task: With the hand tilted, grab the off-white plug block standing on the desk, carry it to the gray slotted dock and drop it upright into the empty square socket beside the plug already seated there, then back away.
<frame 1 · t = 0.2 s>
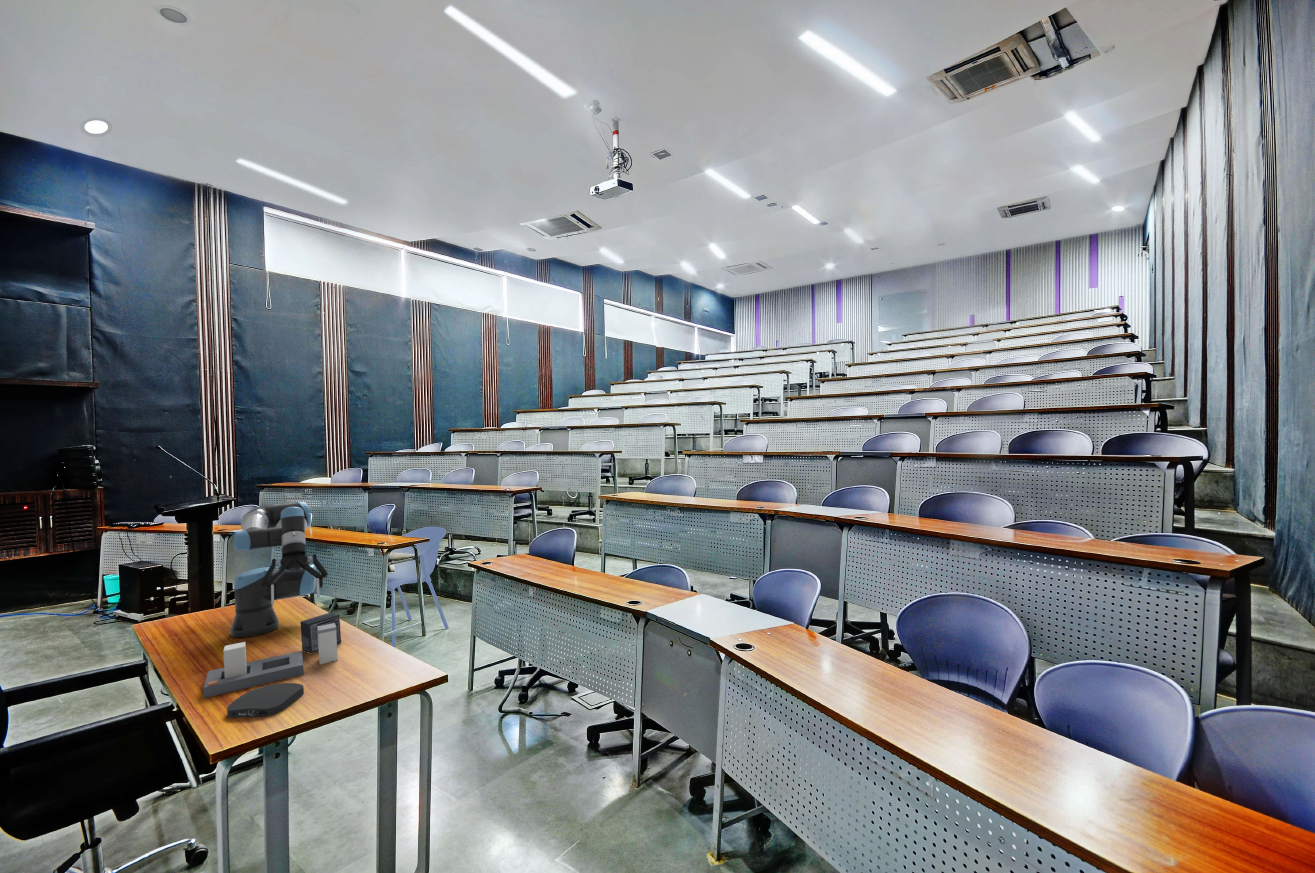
hand: (296, 599, 194), 16 cm above the table, tool tilted 35°, fingers open, 13 cm apart
gray slotted dock: (256, 677, 168), on the table
media streaming box: (267, 705, 151), on the table
white plug: (328, 659, 180), on the table
small box: (321, 647, 192), on the table
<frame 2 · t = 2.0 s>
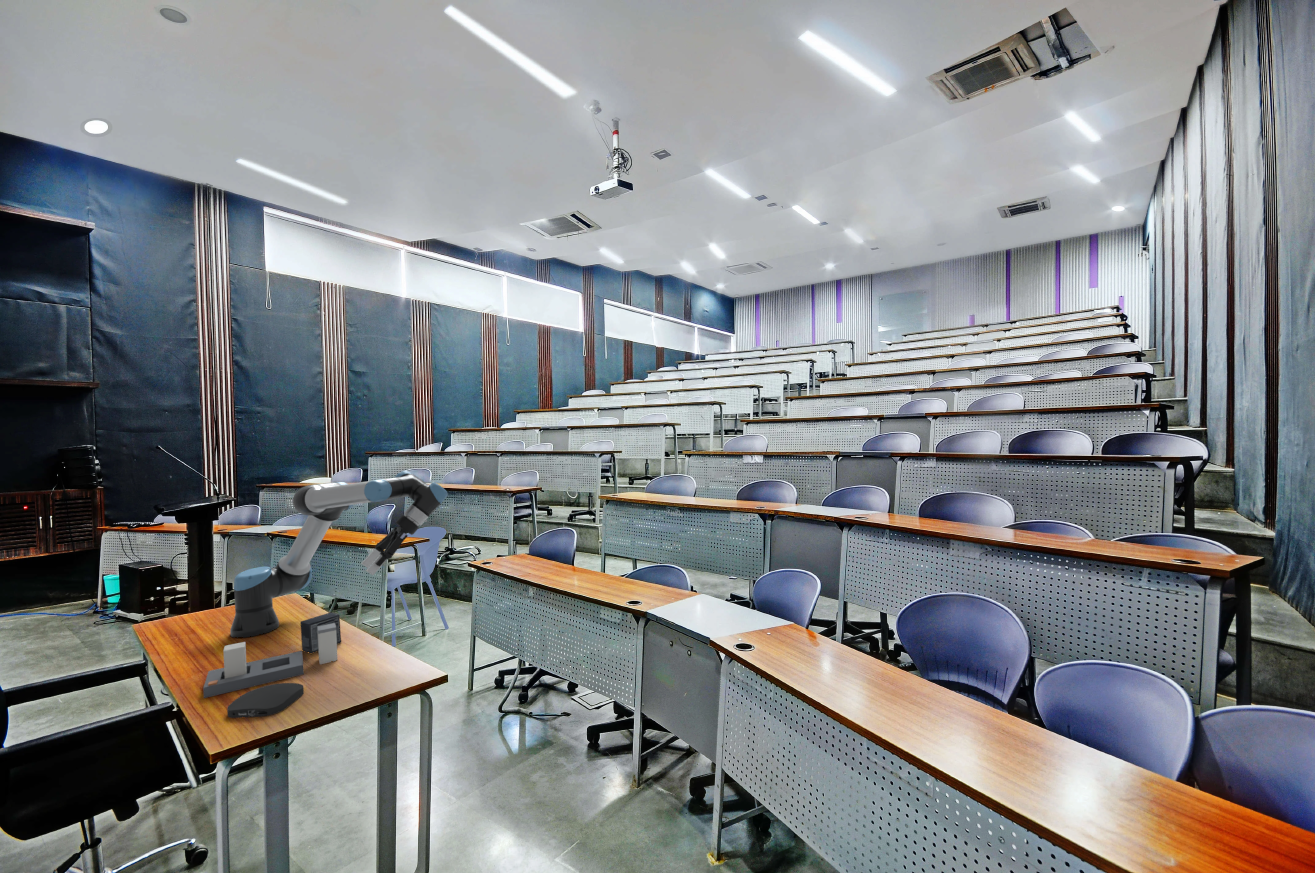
hand: (366, 569, 188), 27 cm above the table, tool tilted 45°, fingers open, 13 cm apart
nothing on the table moved.
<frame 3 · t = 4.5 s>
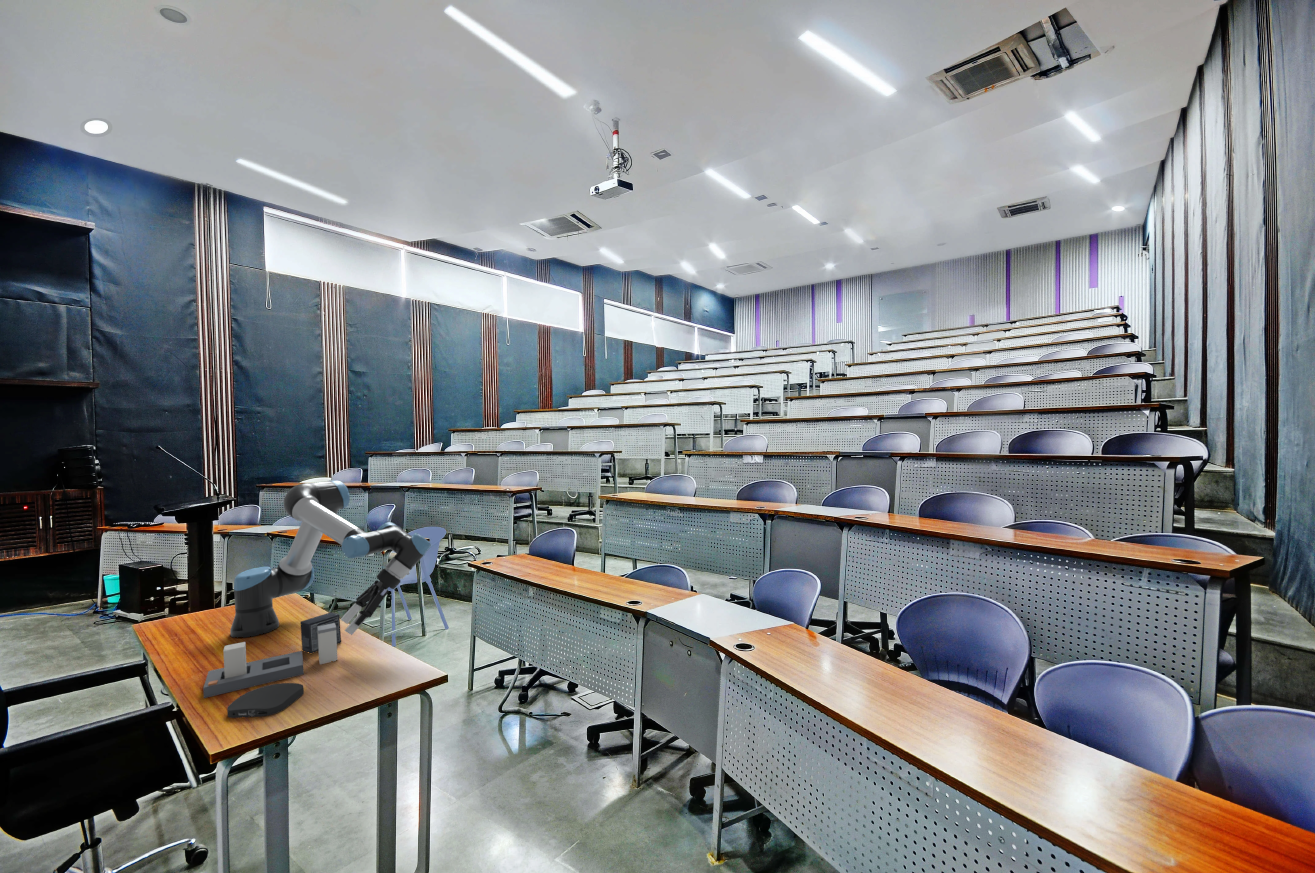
hand: (345, 627, 182), 10 cm above the table, tool tilted 45°, fingers open, 13 cm apart
nothing on the table moved.
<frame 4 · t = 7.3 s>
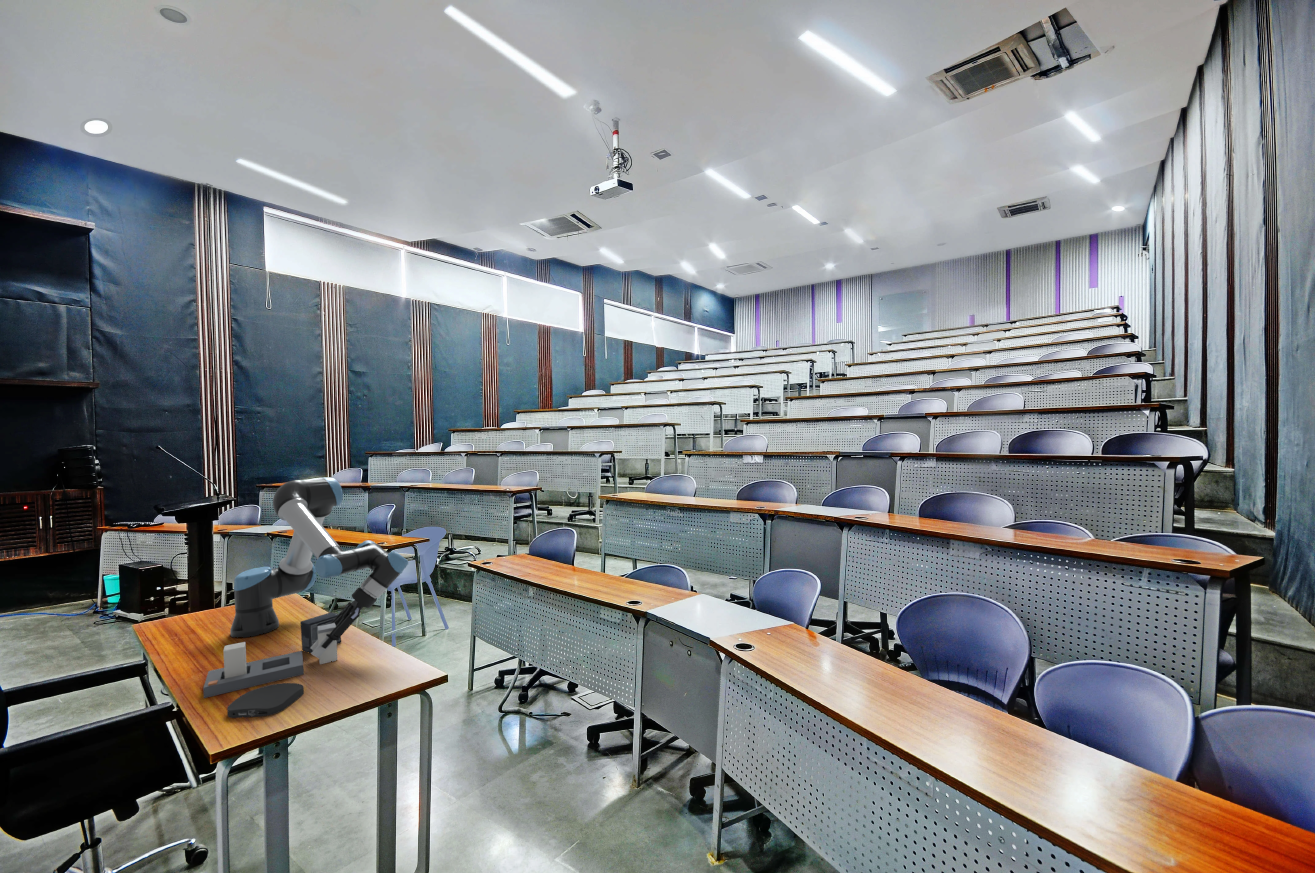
hand: (314, 652, 178), 3 cm above the table, tool tilted 45°, fingers closed on white plug, 5 cm apart
white plug: (328, 659, 180), on the table, touching gripper
everything else where it was.
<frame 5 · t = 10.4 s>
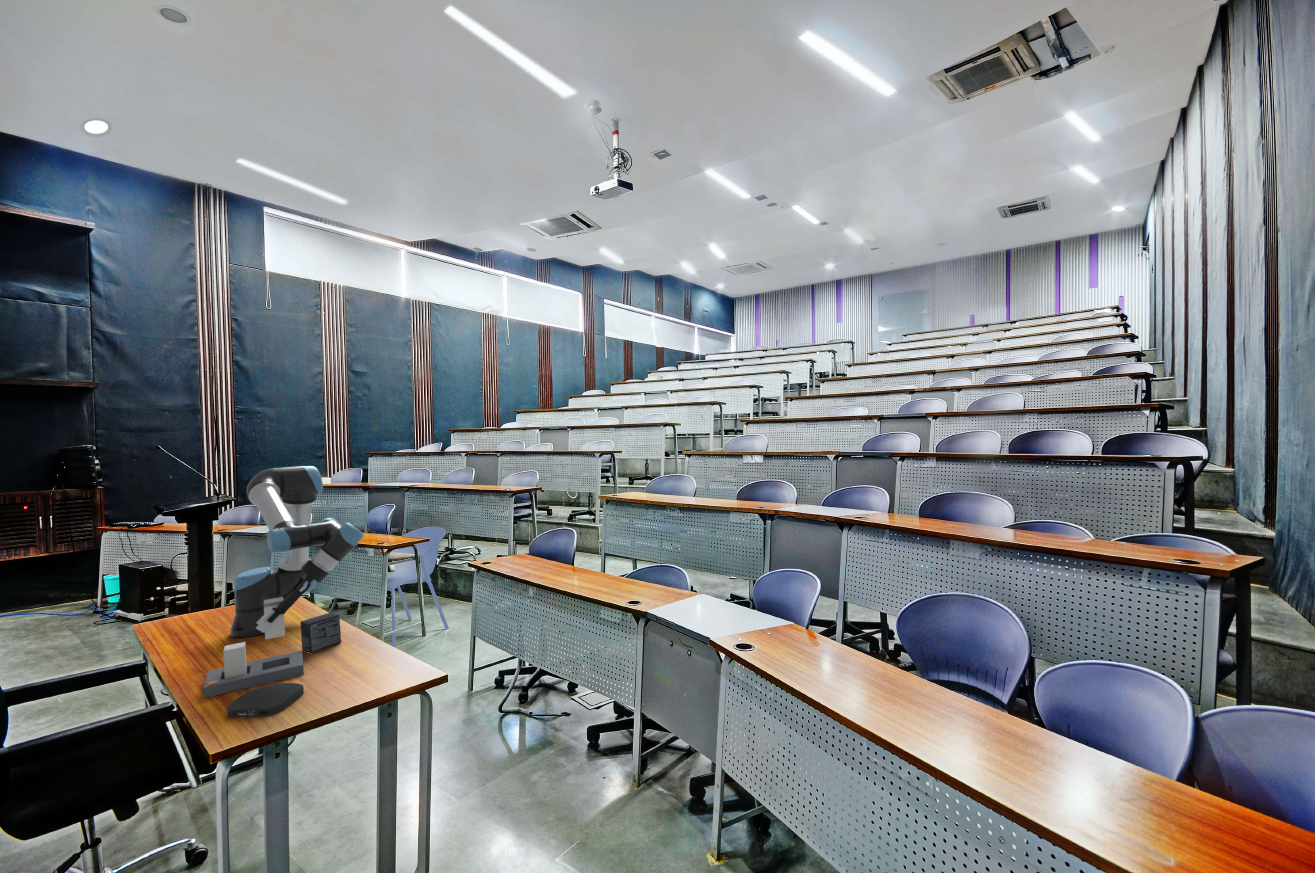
hand: (260, 627, 169), 15 cm above the table, tool tilted 45°, fingers closed on white plug, 5 cm apart
white plug: (275, 635, 171), point 12 cm above the table, touching gripper
everything else where it was.
when the fingers open (4 cm above the table, at t = 13.6 s): white plug stays where it is, resting in gray slotted dock.
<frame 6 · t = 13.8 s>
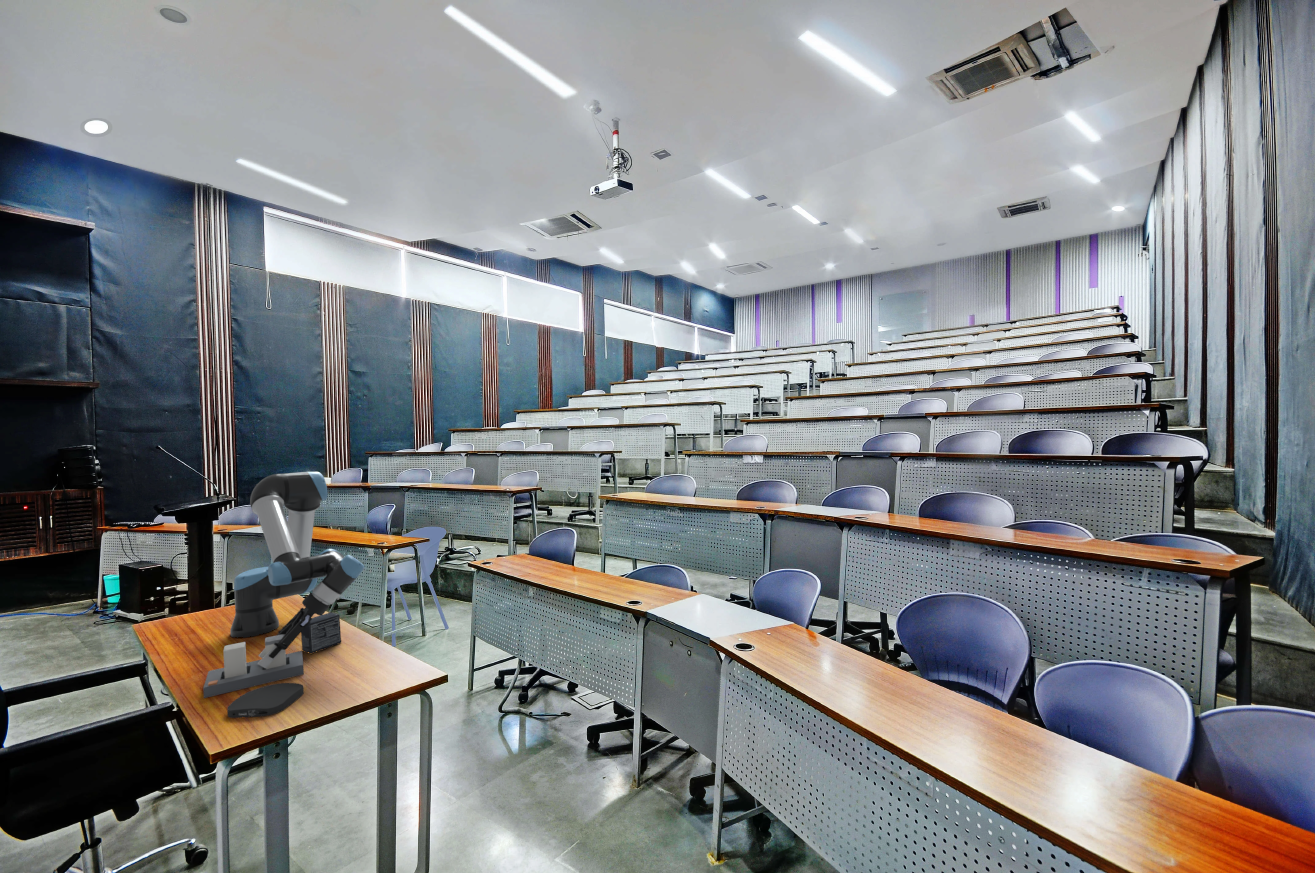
hand: (262, 661, 169), 4 cm above the table, tool tilted 45°, fingers open, 7 cm apart
white plug: (276, 672, 171), resting in gray slotted dock
everything else where it was.
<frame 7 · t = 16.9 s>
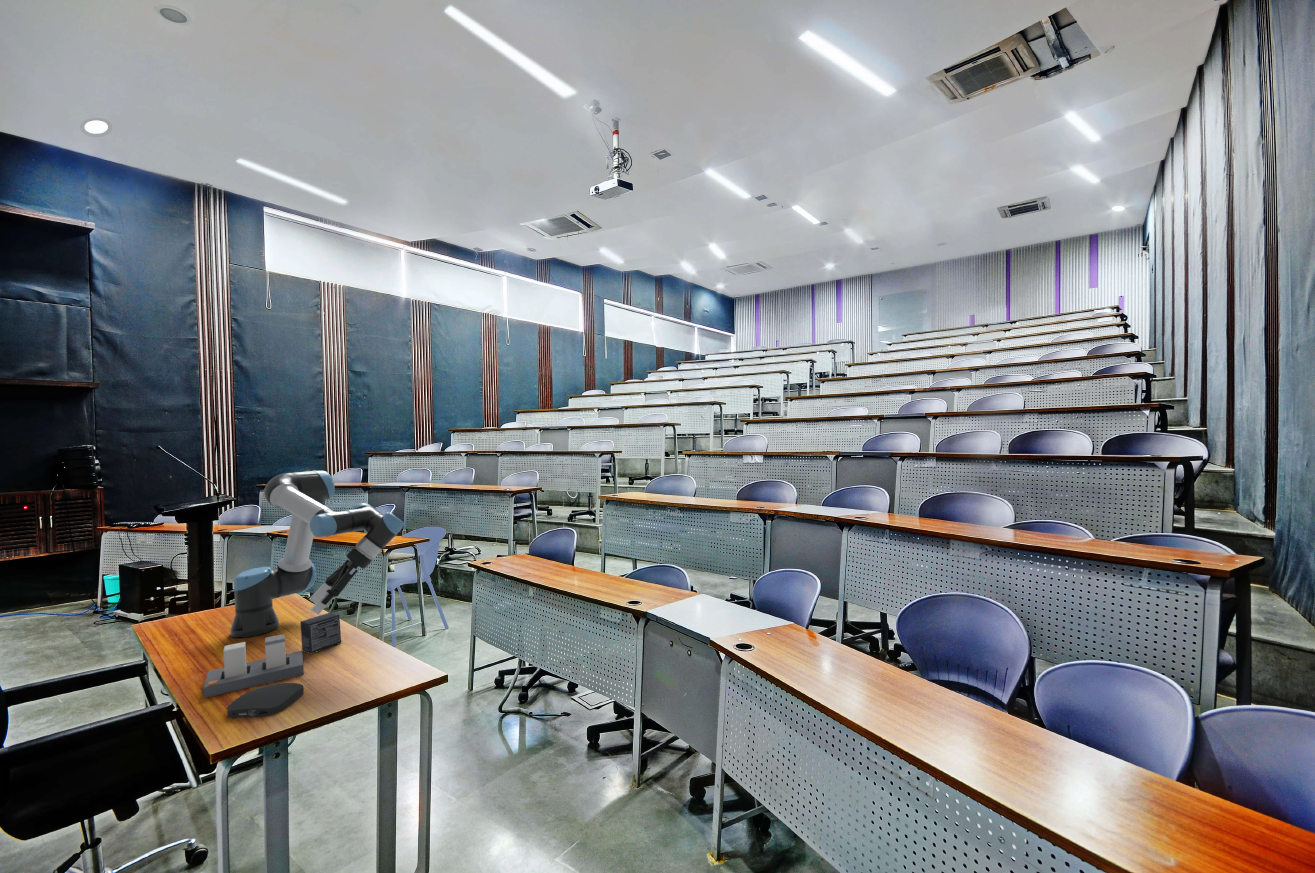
hand: (313, 606, 177), 19 cm above the table, tool tilted 45°, fingers open, 13 cm apart
nothing on the table moved.
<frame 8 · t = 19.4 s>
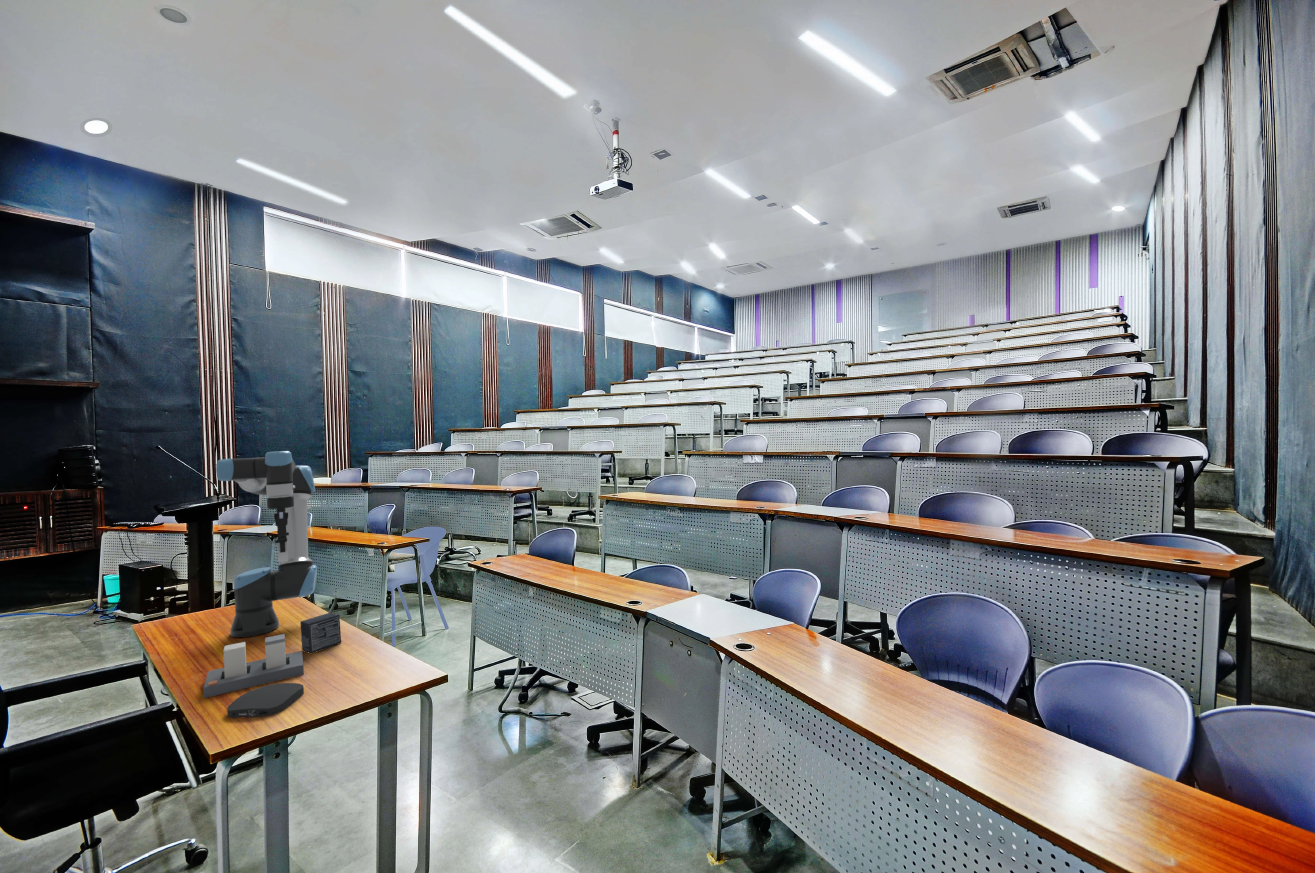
hand: (283, 558, 187), 33 cm above the table, tool pointing down, fingers open, 13 cm apart
nothing on the table moved.
at the end: white plug 0.0 cm from the target spot on the gray slotted dock, point 0.0 cm above the gray slotted dock's base; white plug tilted 0°; the gripper is holding nothing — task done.
